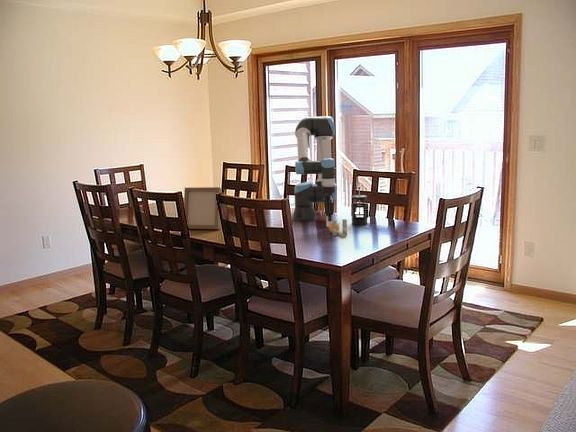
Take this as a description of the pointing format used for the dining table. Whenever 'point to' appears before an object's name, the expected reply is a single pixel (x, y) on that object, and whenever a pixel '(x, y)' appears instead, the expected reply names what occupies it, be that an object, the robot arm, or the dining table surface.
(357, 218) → the french press
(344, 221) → the pin
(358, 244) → the dining table surface
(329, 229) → the ball
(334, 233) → the pin
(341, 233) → the pin front
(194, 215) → the photo frame
